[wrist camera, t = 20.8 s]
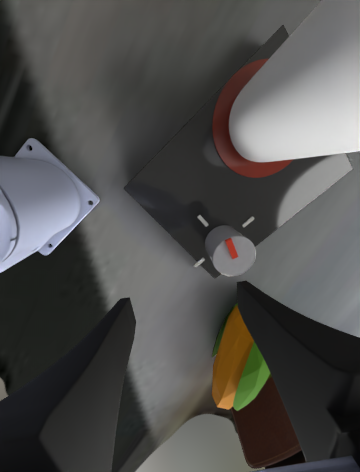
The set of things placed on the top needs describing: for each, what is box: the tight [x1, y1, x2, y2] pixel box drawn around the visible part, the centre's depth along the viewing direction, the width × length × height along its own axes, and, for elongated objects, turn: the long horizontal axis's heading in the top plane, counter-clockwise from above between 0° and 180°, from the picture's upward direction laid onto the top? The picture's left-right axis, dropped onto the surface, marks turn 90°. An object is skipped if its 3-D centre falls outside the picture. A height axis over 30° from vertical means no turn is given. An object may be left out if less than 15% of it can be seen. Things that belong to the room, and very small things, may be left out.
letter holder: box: [230, 377, 307, 469], centre depth 25 cm, size 10×20×14 cm, turn 141°
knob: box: [205, 225, 256, 276], centre depth 17 cm, size 4×4×4 cm
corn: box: [212, 303, 272, 411], centre depth 24 cm, size 7×8×20 cm
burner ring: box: [212, 59, 294, 178], centre depth 16 cm, size 9×9×1 cm
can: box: [229, 0, 360, 162], centre depth 10 cm, size 6×6×12 cm
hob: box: [124, 25, 353, 279], centre depth 18 cm, size 19×15×3 cm
